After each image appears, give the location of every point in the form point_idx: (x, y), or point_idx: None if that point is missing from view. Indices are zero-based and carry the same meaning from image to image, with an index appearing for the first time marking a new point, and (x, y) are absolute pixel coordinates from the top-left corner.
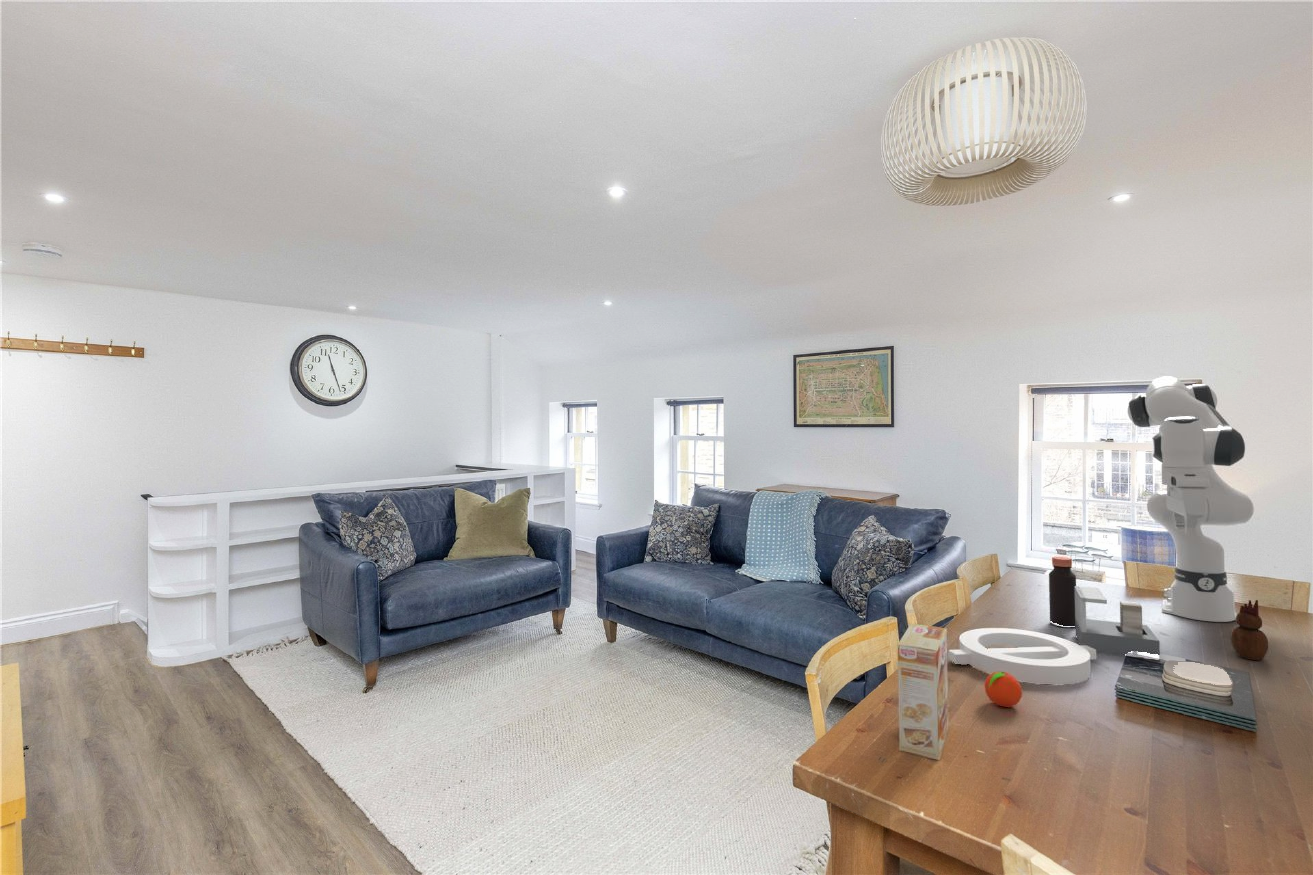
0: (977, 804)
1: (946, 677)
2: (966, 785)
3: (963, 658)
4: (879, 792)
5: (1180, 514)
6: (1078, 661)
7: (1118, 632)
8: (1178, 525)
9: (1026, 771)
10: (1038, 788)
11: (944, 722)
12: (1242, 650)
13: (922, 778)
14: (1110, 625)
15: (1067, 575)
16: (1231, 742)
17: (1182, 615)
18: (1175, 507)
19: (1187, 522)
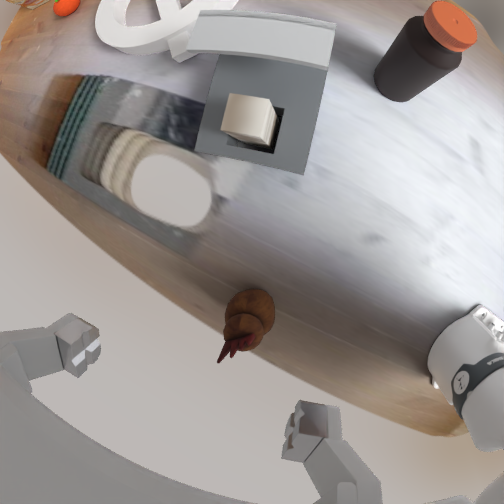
0: (10, 34)
1: None
2: (18, 26)
3: None
4: None
5: (18, 382)
6: (106, 37)
7: None
8: (298, 422)
9: (20, 41)
10: (12, 49)
11: (34, 1)
12: (242, 291)
13: (24, 11)
14: (284, 100)
15: (412, 35)
16: (33, 144)
17: (457, 321)
18: (89, 496)
19: (12, 334)
